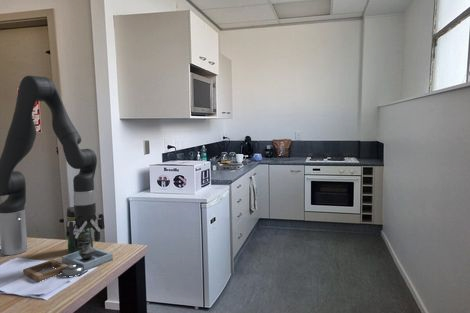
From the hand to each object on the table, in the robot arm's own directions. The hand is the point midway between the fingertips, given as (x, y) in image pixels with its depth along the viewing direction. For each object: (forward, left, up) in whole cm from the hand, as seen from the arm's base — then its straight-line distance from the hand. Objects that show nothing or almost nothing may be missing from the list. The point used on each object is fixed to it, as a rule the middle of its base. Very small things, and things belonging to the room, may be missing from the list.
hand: (86, 244), depth 130 cm
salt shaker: (0, 0, -6) cm, 6 cm away
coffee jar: (-14, +6, -7) cm, 17 cm away
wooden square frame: (-3, -14, -7) cm, 16 cm away
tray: (0, 0, -7) cm, 7 cm away
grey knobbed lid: (+5, -9, -7) cm, 12 cm away
